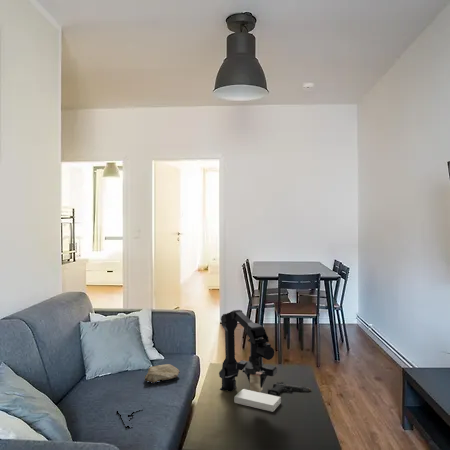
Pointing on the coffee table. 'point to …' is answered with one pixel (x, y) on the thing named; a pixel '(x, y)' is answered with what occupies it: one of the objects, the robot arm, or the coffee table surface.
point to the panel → (257, 400)
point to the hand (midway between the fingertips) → (256, 386)
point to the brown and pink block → (255, 382)
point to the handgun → (285, 388)
